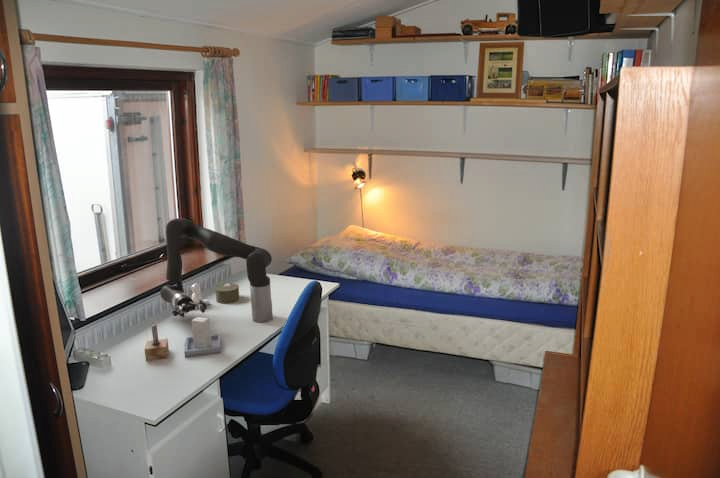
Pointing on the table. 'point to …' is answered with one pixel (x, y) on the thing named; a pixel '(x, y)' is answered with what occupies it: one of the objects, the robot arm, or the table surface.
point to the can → (227, 293)
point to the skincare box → (201, 332)
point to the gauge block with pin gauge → (156, 347)
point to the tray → (195, 351)
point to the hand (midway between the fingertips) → (193, 312)
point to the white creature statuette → (197, 294)
